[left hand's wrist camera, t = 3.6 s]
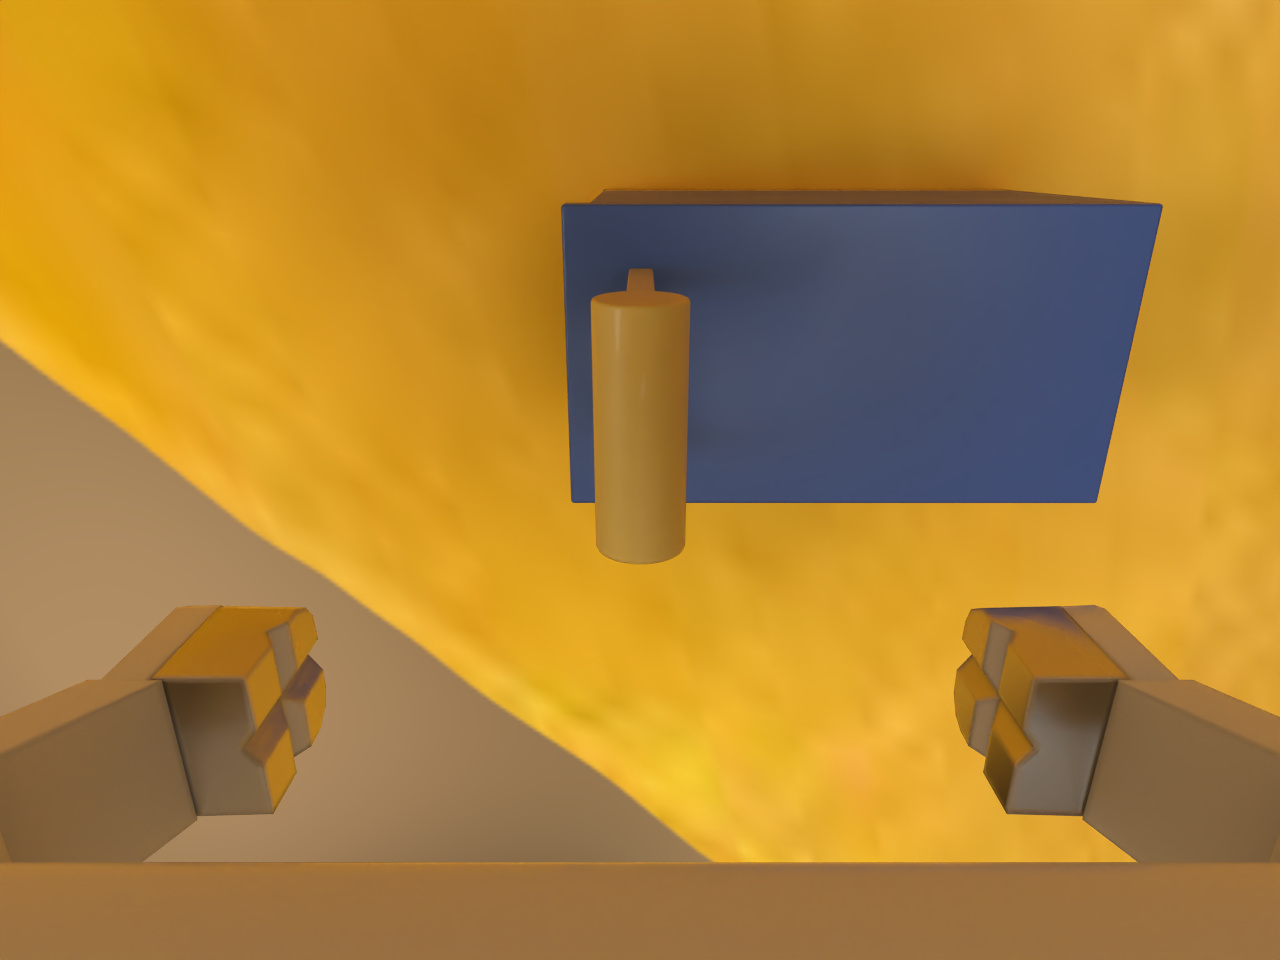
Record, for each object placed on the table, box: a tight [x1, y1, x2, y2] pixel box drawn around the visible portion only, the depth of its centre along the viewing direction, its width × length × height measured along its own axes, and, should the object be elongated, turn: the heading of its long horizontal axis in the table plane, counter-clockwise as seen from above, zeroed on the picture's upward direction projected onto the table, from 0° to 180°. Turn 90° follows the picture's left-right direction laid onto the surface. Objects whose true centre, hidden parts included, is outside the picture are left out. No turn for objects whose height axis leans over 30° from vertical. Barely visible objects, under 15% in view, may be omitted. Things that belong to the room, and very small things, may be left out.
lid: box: [561, 203, 1163, 564], centre depth 22 cm, size 17×9×8 cm, turn 90°
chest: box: [591, 189, 1144, 203], centre depth 30 cm, size 16×9×10 cm, turn 90°
